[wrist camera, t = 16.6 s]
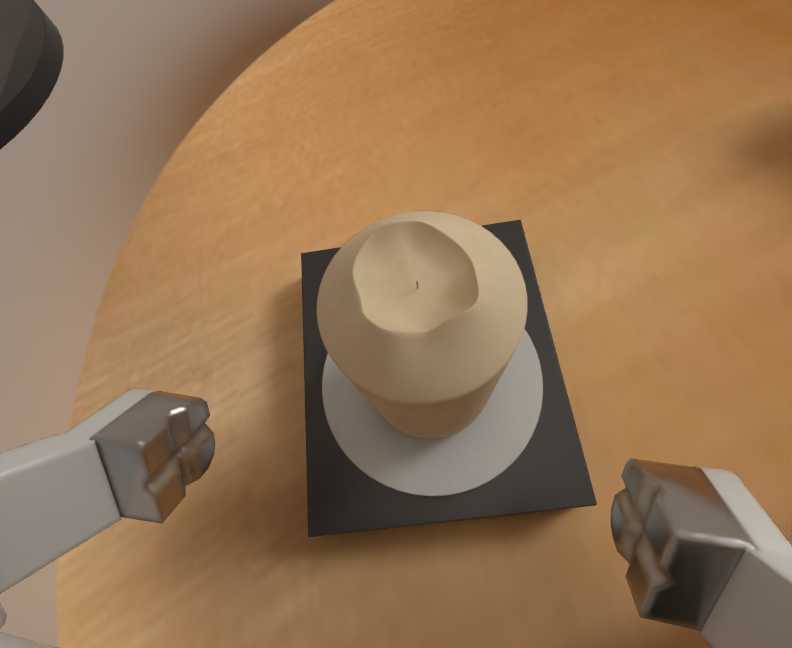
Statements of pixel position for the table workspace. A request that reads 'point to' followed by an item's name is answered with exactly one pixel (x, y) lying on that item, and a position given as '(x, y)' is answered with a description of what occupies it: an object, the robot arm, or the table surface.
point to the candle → (423, 318)
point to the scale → (447, 456)
